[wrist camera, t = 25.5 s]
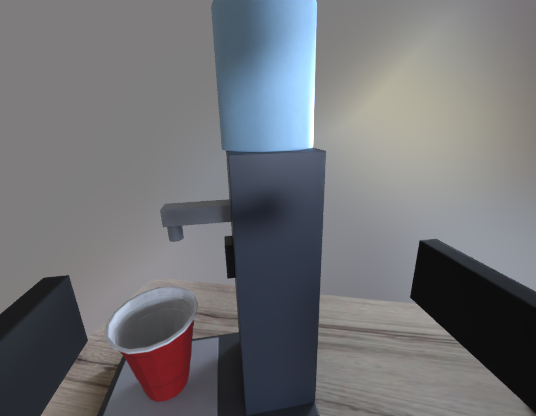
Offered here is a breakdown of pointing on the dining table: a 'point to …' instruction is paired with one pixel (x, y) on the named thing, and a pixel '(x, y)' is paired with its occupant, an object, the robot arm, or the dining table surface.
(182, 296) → the plastic cup
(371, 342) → the dining table surface
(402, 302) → the dining table surface
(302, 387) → the water dispenser
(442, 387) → the dining table surface
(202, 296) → the dining table surface
